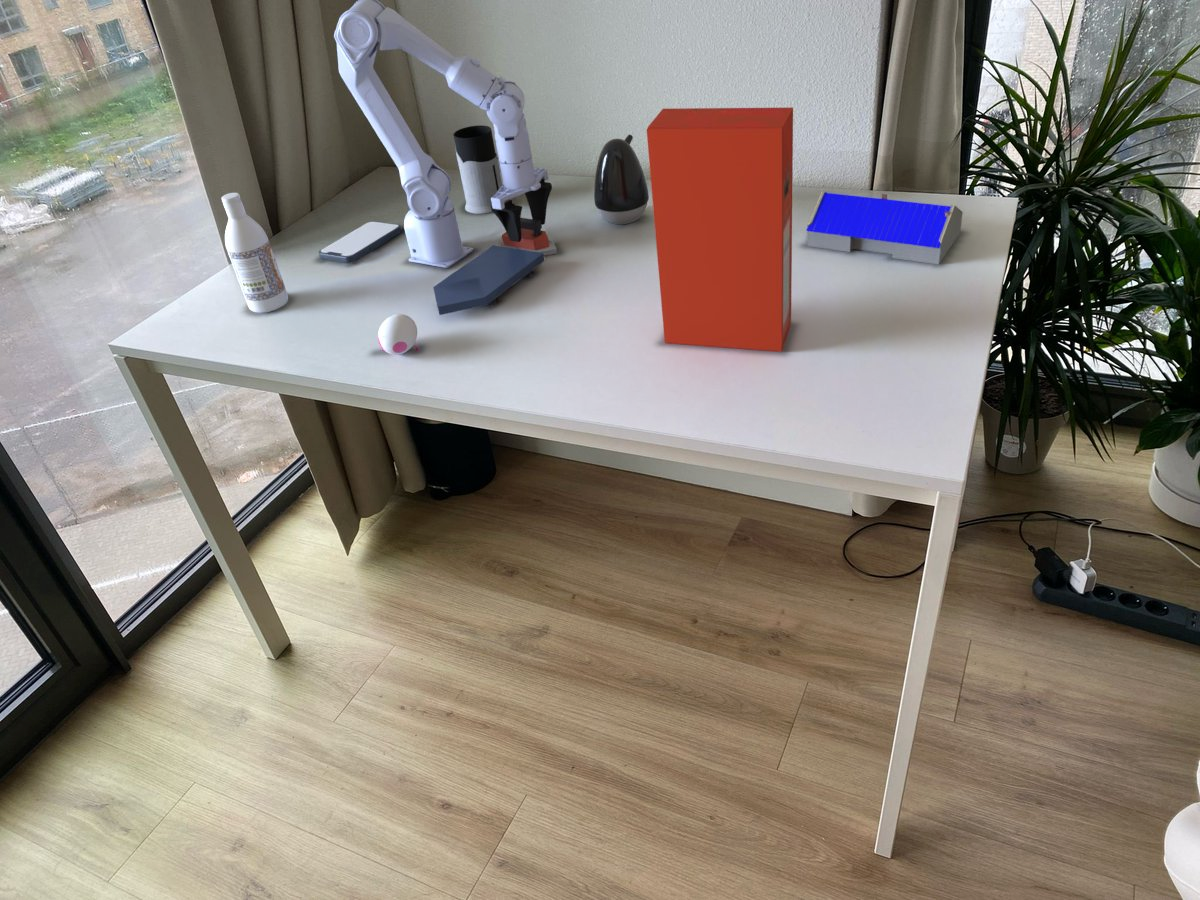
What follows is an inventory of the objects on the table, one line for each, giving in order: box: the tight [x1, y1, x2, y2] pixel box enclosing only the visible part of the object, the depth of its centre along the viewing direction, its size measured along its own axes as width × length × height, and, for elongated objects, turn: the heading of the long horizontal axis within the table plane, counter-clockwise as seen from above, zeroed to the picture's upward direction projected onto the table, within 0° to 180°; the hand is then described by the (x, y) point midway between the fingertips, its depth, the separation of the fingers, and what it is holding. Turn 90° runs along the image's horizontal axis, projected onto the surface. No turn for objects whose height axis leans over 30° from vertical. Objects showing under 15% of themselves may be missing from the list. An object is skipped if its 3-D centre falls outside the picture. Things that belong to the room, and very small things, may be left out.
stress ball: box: [377, 313, 420, 356], centre depth 144 cm, size 8×8×7 cm
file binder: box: [646, 106, 794, 353], centre depth 128 cm, size 8×17×32 cm, turn 71°
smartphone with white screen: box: [318, 220, 403, 264], centre depth 180 cm, size 9×2×16 cm
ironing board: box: [432, 244, 545, 316], centre depth 157 cm, size 11×22×3 cm, turn 149°
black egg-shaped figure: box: [593, 134, 650, 225], centre depth 172 cm, size 10×10×15 cm
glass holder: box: [452, 124, 503, 215], centre depth 185 cm, size 9×14×15 cm, turn 82°
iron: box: [500, 217, 558, 257], centre depth 169 cm, size 11×5×6 cm, turn 58°
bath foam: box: [221, 192, 289, 314], centre depth 158 cm, size 7×7×20 cm
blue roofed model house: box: [805, 190, 964, 265], centre depth 155 cm, size 22×14×7 cm, turn 58°
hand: (527, 232), depth 168 cm, fingers open, 7 cm apart
